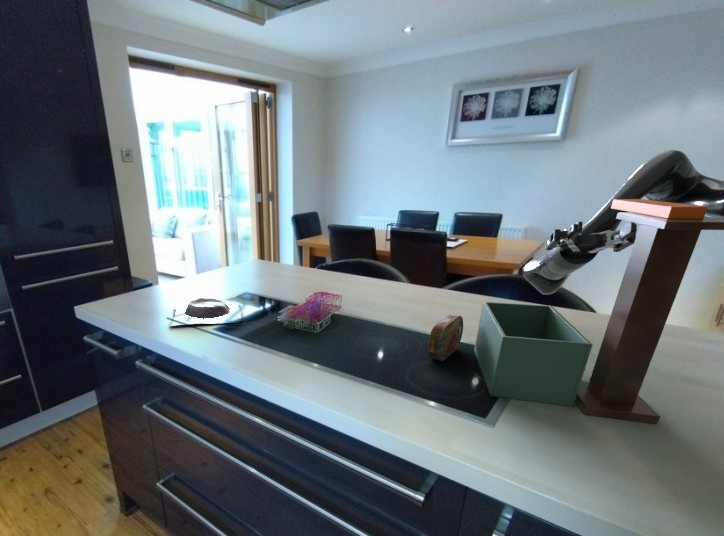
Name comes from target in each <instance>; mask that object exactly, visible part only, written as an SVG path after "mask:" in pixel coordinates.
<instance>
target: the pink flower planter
mask: <svg viewBox="0 0 724 536" xmlns="http://www.w3.org/2000/svg"><path fill="white" fill-rule="evenodd" d="M342 300H343V294H338V293H335V294H334V293H331V292H328V291H327V292H326V291H313V292H312V293H310V294H308V295H307V296H305V297H303V298H302V299H300V301H301V302H300V303H298V304H297V305H288V306H286V307H284V308H283V309H281V310H279V311H278V314H280V315H279V316H277V322H283V324H284V326H286V327H287V324H289V325H288V328H289V327H290V328H291V326H292V329H294V328H296V329H295V330H300V329H301V330H300V331H305V330H306V332H308V330H310V332H311V333H313V327H314V332H315V333H317V334H318V333H319V332H321V331H322V330H323V329H324V328H326V327H327V326H328V324H331V316H333V315H334V314H335V313H337V312H338V311H339V310H340V309H342V305H341V303H342V302H343V301H342ZM342 304H343V303H342ZM308 309H309V310H308ZM333 309H334V310H333ZM302 321H303V323H302ZM290 324H291V325H290ZM321 324H322V325H321ZM294 325H295V326H294ZM320 325H321V326H320ZM304 327H305V328H304ZM320 327H321V328H320ZM302 328H303V329H302Z"/></svg>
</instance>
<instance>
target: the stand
mask: <svg viewBox="0 0 724 536" xmlns="http://www.w3.org/2000/svg"><path fill="white" fill-rule="evenodd" d="M616 219H620V220H622V221H624V222H628V223H629V222H633V223H636V224H637V225H639V226H638V229H637V232H636V239H635V242H634V244H632V245H633V246H632V247H631V252H630V255H629V258H628V261H627V264H626V267H625V270H624V273H623V276H622V279H621V282H620V285H619V288H618V292H617V294H616V298H615V301H614V304H613V306H612V307H613V308H612V310H611V314H610V316H609V319H608V322H607V326H606V329H605V332H604V335H603V338H602V341H601V345H600V348H599V350H598V353H597V356H596V360H595V363H594V366H593V369H592V372H591V375H590V378H589V381H583V380H581V383H580V386H579V389H578V393H577V396H576V399H575V401H574V403H576V405H577V407H579V409H580V410H581V412H582V413H583V415H586V416H592V417H600V418H608V419H616V420H621V421H622V420H623V421H630V422H639V423H647V424H653V425H658V423H659V421H660V419H661V415H660V414H659V413H658V412H657V411H655V410H654V409H653V408H652V406H650V405H649V404H648V403H647V402H646V401H645V399H643V398H642V396H640V395H639V393H640V392H641V388H642V386H643V383H644V381H645V378H646V376H647V373H648V370H649V368H650V365H651V362H652V359H653V357H654V354H655V351H656V349H657V347H658V344H659V342H660V339H661V336H662V334H663V332H664V329H665V326H666V323H667V321H668V318H669V316H670V313H671V310H672V307H673V305H674V302H675V300H676V298H677V294H678V292H679V290H680V287H681V284H682V282H683V279H684V277H685V274H686V271H687V269H688V266H689V263H690V261H691V259H692V256H693V254H694V251H695V248H696V245H697V242H698V240H699V238H700V235H701V232H702V231H724V219H719V218H713V217H710V216H706V215H705V216H704V219H667V218H662V217H656V216H650V215H645V214H639V213H633V212H618V214H617V217H616Z"/></svg>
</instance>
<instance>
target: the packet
mask: <svg viewBox="0 0 724 536" xmlns="http://www.w3.org/2000/svg"><path fill="white" fill-rule="evenodd" d="M611 209H617V210H622V211H628V212H633V213H639V214H645V215H650V216H656V217H662V218H667V219H704V216H705V217H706V215H705V214H706V211H707V209H708V207H705V206H697V205H688V204H679V203H670V202H662V201H653V200H649V199H645V198H644V199H643V198H641V199H614V200H613V203H612V206H611Z"/></svg>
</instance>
